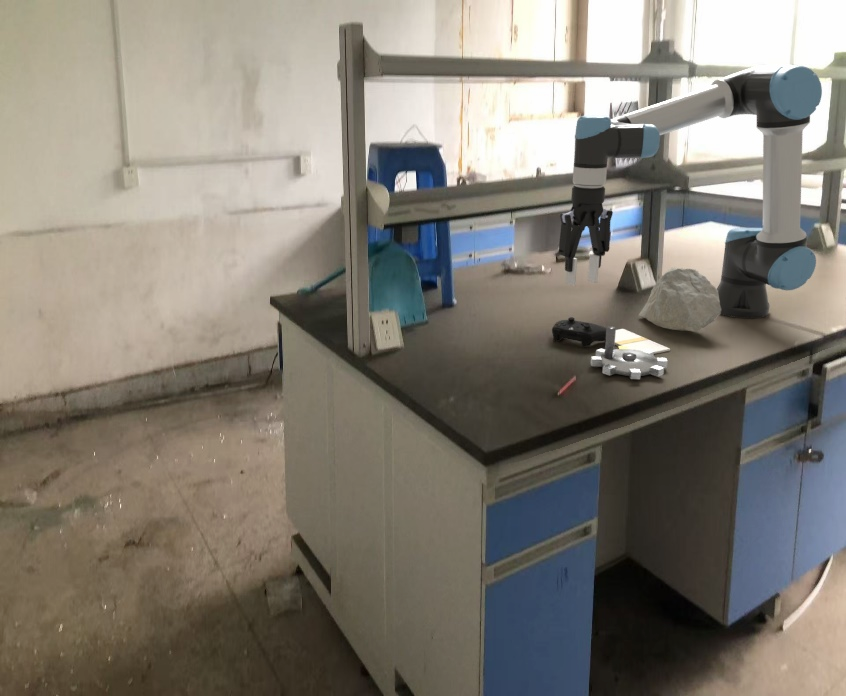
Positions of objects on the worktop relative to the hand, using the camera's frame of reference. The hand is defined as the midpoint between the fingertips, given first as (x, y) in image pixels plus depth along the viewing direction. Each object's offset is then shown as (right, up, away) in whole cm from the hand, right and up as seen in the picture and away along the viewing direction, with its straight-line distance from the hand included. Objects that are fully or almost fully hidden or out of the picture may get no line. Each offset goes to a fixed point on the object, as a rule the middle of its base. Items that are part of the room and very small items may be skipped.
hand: (581, 282), depth 190 cm
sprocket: (+8, -20, -12) cm, 25 cm away
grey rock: (+27, -11, +15) cm, 33 cm away
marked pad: (+13, -14, +4) cm, 20 cm away
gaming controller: (0, -14, +5) cm, 15 cm away
